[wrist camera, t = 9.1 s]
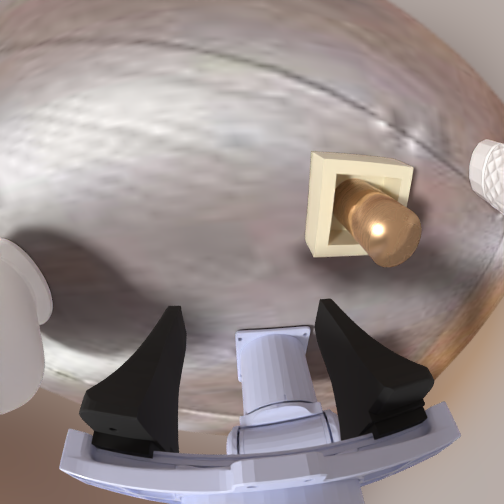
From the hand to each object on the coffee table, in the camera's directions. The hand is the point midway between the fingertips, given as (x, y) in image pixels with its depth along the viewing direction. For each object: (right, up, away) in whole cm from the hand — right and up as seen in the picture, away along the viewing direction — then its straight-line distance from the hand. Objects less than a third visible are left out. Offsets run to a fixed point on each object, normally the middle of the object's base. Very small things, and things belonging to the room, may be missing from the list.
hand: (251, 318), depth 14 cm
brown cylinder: (+8, +8, +7) cm, 13 cm away
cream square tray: (+8, +8, +8) cm, 14 cm away
